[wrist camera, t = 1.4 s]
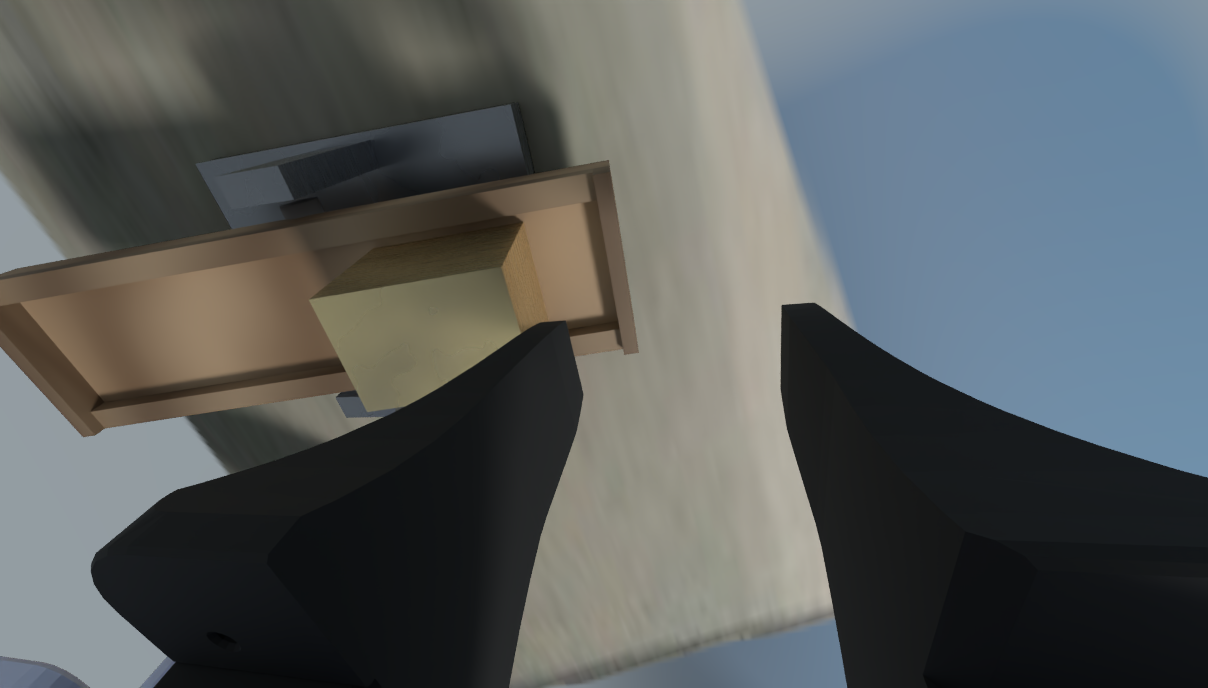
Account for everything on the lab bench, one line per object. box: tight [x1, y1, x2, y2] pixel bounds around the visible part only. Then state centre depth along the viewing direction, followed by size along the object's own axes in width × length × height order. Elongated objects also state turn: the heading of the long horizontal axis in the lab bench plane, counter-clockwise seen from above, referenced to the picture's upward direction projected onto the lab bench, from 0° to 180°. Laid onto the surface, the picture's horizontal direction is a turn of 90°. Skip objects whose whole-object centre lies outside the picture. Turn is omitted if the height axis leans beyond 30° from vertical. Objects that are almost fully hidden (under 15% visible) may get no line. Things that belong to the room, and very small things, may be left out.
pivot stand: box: [196, 102, 535, 418], centre depth 19 cm, size 10×14×5 cm
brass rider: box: [309, 222, 549, 412], centre depth 15 cm, size 4×5×4 cm
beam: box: [0, 160, 639, 437], centre depth 17 cm, size 21×7×3 cm, turn 100°
